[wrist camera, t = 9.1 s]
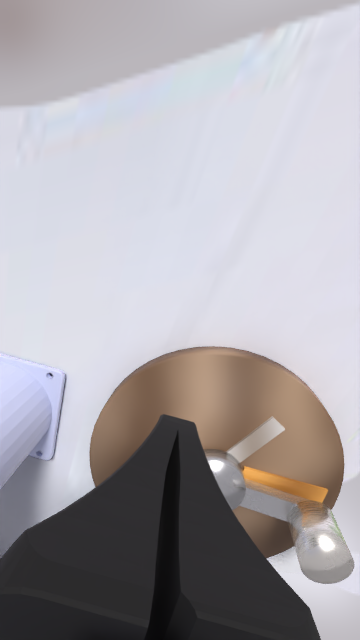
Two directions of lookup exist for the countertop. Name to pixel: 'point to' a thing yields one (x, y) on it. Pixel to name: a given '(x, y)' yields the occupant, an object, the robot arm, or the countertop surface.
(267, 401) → the dial plate
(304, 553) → the silver dumbbell
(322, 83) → the countertop surface
